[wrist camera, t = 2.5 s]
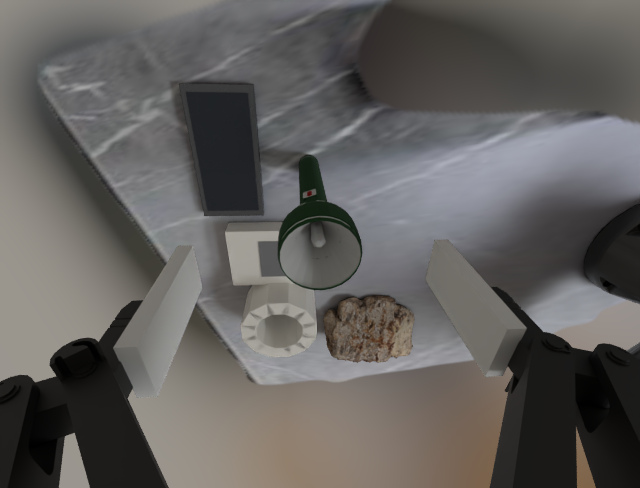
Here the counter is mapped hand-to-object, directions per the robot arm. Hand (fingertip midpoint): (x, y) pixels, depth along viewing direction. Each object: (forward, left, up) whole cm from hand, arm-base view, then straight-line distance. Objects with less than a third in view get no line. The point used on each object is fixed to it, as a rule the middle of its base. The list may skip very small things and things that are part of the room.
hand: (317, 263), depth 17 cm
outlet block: (+4, +16, -21) cm, 27 cm away
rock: (-10, +25, -21) cm, 35 cm away
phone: (+9, -1, -21) cm, 23 cm away
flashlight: (0, 0, -21) cm, 21 cm away
